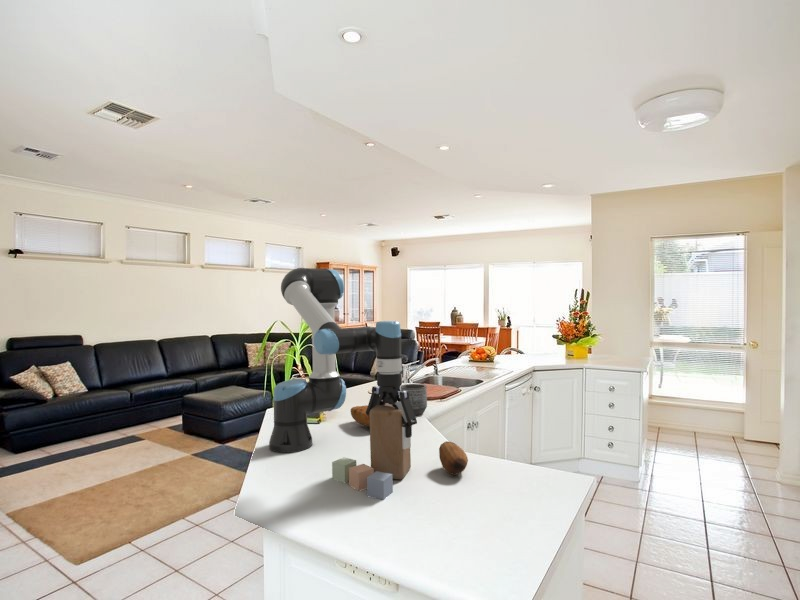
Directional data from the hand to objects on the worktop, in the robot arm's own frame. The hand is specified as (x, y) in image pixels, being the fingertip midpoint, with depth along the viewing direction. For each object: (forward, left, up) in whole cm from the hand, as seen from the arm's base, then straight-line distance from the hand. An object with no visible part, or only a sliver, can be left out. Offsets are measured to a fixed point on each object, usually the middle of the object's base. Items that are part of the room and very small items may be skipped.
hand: (390, 443), depth 133 cm
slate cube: (+9, -12, -9) cm, 17 cm away
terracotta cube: (+1, -12, -9) cm, 15 cm away
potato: (+13, +14, -9) cm, 21 cm away
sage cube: (-7, -12, -9) cm, 17 cm away
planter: (-46, +56, -9) cm, 73 cm away
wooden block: (0, 0, -9) cm, 9 cm away
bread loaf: (-44, +31, -9) cm, 55 cm away
